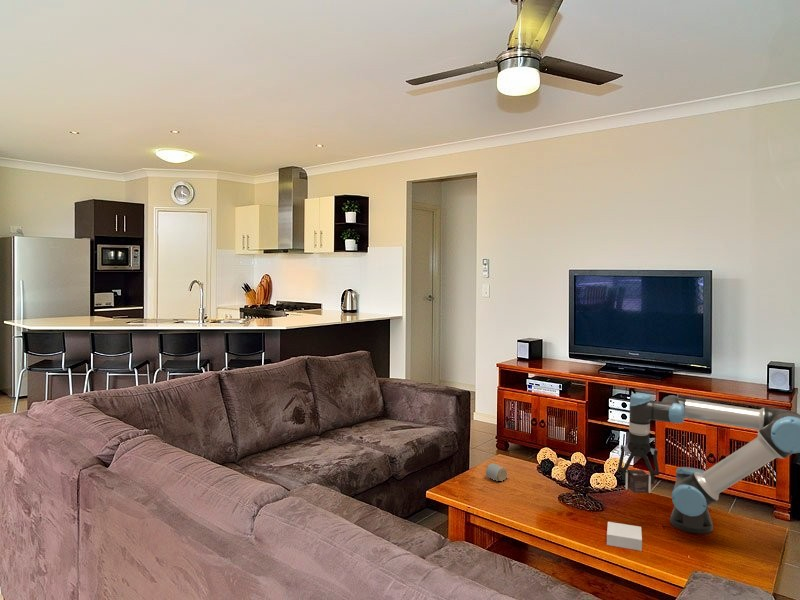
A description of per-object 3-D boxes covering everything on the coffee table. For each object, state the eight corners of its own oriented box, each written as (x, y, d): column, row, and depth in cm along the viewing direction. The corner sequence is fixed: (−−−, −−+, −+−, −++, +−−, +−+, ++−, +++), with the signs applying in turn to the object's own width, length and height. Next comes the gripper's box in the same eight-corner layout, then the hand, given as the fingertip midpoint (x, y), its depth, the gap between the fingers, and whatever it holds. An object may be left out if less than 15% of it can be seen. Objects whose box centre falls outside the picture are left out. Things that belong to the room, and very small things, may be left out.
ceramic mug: (497, 484, 269) (498, 468, 269) (485, 479, 276) (485, 464, 276) (512, 480, 276) (512, 464, 276) (499, 475, 282) (499, 460, 282)
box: (642, 487, 226) (642, 469, 225) (648, 493, 219) (649, 475, 219) (627, 487, 225) (627, 469, 225) (633, 493, 219) (633, 474, 219)
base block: (640, 537, 214) (641, 526, 214) (641, 550, 203) (641, 540, 203) (607, 531, 219) (607, 521, 219) (606, 544, 208) (606, 534, 208)
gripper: (667, 433, 221) (665, 490, 222) (612, 427, 229) (610, 482, 230) (668, 438, 214) (666, 497, 215) (611, 432, 222) (609, 489, 223)
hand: (637, 489), depth 222 cm, fingers closed on box, 8 cm apart
